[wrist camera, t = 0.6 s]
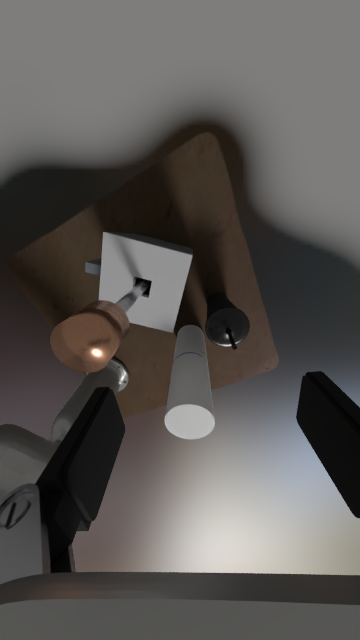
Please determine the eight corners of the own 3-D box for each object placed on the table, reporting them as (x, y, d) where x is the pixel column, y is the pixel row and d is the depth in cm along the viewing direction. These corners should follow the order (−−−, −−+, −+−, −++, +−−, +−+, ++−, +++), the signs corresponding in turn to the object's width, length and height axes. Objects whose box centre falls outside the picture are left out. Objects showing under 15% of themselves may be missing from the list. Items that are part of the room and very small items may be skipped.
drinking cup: (230, 283, 43) (257, 317, 25) (236, 313, 46) (265, 363, 28) (198, 292, 45) (202, 331, 26) (206, 321, 47) (215, 373, 29)
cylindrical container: (184, 320, 48) (177, 397, 25) (209, 331, 49) (224, 416, 26) (172, 341, 50) (156, 428, 28) (196, 352, 51) (199, 445, 29)
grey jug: (192, 248, 41) (192, 255, 25) (179, 299, 45) (172, 332, 30) (120, 229, 40) (74, 224, 24) (115, 283, 45) (73, 308, 29)
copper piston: (181, 258, 32) (161, 301, 11) (170, 306, 36) (138, 410, 14) (129, 244, 31) (0, 261, 10) (123, 295, 35) (19, 383, 14)
